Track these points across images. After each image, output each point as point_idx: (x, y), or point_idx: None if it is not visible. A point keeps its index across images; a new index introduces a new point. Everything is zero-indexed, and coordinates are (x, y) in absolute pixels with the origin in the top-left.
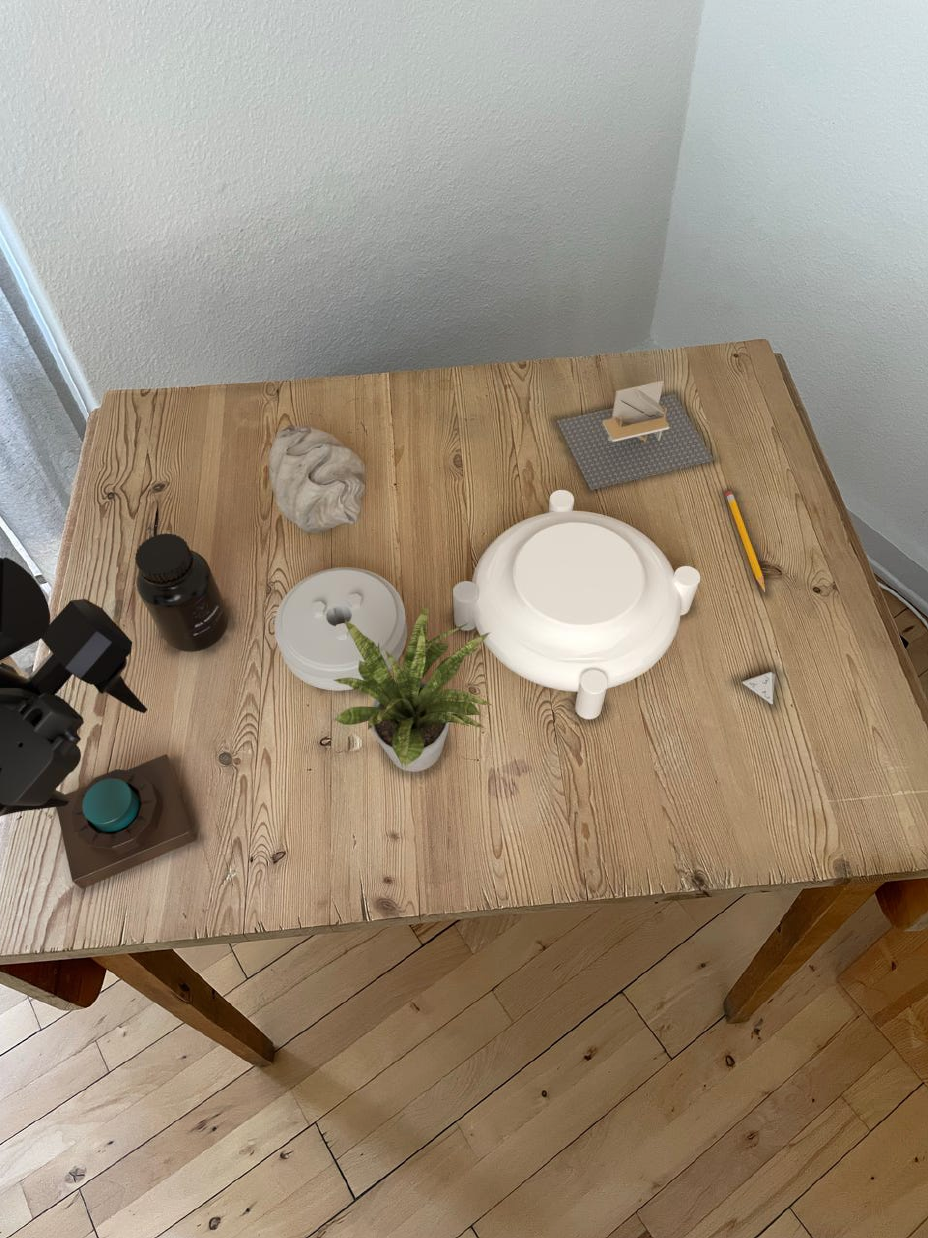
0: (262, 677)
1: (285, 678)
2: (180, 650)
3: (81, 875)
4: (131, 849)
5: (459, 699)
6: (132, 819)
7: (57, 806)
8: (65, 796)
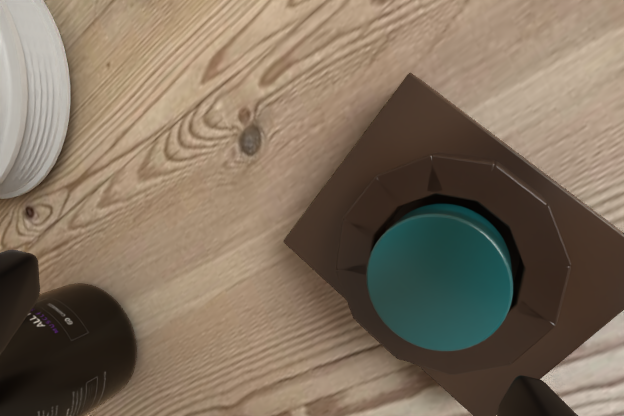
0: (109, 176)
1: (92, 136)
2: (132, 338)
3: None
4: (515, 175)
5: None
6: (447, 204)
7: (573, 414)
8: (504, 402)
